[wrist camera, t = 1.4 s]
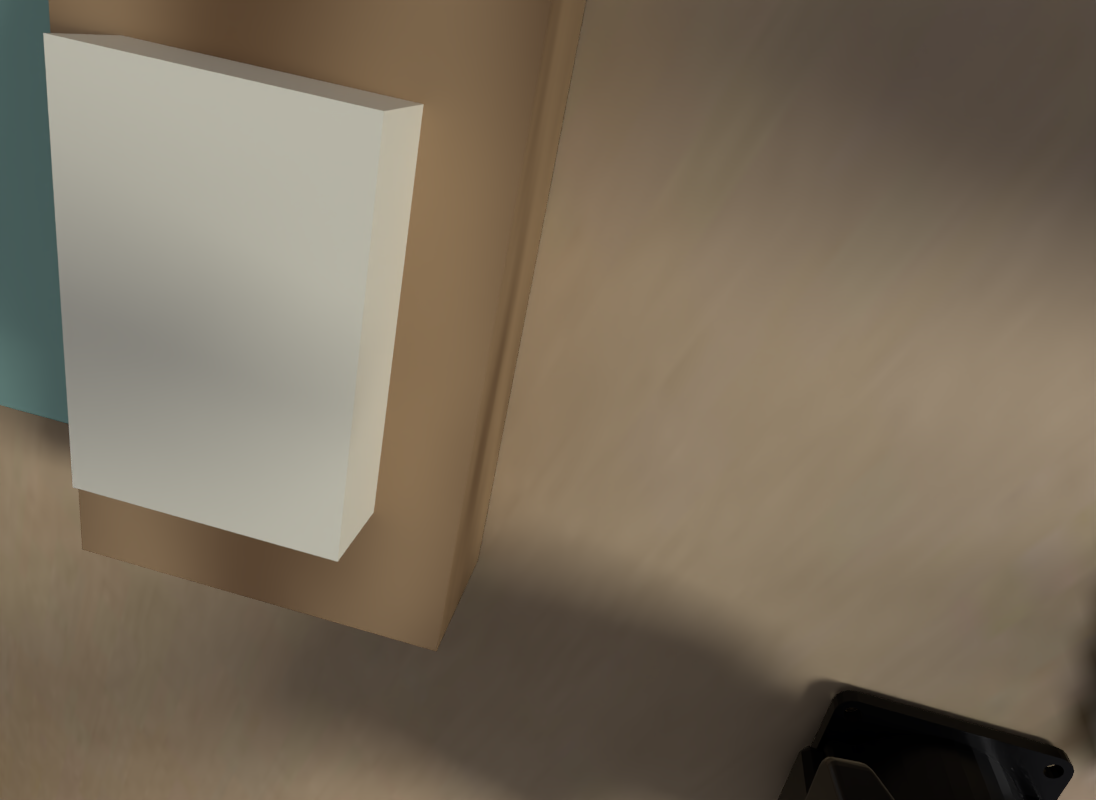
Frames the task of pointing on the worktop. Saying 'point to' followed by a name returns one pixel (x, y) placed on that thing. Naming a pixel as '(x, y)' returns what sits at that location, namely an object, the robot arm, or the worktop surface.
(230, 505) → the white block
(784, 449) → the worktop surface
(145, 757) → the worktop surface
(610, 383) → the worktop surface
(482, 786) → the worktop surface
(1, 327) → the mat
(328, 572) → the brown box
